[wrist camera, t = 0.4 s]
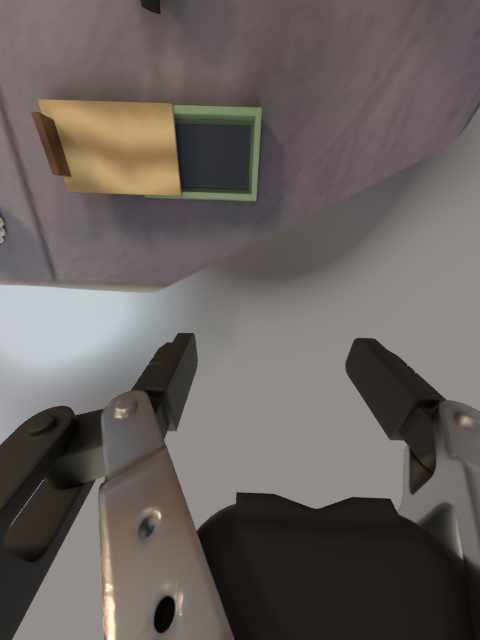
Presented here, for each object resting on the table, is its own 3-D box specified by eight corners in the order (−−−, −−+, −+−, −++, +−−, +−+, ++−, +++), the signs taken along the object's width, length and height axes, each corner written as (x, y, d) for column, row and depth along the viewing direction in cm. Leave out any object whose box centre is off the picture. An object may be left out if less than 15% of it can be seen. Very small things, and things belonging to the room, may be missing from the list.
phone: (145, 125, 26) (142, 122, 25) (250, 128, 26) (251, 125, 25) (154, 186, 29) (151, 185, 28) (248, 189, 29) (248, 188, 28)
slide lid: (41, 101, 24) (20, 89, 22) (173, 105, 24) (165, 93, 21) (71, 192, 28) (55, 190, 26) (182, 196, 28) (176, 194, 26)
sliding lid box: (135, 111, 26) (127, 103, 24) (261, 115, 26) (262, 107, 24) (149, 198, 30) (143, 196, 29) (255, 201, 30) (256, 200, 29)
